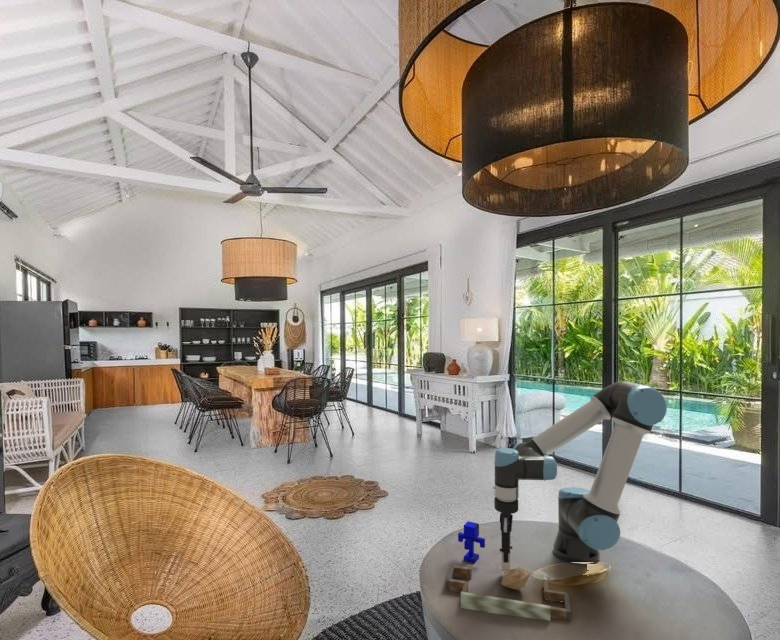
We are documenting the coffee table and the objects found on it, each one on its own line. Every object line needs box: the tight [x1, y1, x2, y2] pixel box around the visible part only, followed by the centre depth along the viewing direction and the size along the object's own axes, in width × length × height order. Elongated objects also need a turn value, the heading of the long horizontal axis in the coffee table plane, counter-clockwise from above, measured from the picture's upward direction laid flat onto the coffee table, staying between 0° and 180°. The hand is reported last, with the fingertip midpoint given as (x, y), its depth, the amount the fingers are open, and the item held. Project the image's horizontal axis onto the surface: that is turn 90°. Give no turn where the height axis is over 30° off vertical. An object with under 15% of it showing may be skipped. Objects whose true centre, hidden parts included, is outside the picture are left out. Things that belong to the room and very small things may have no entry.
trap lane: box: [445, 564, 572, 622], centre depth 138 cm, size 35×18×4 cm, turn 74°
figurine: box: [457, 520, 486, 564], centre depth 160 cm, size 8×8×12 cm
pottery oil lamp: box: [501, 566, 531, 590], centre depth 143 cm, size 9×12×7 cm
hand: (505, 570), depth 149 cm, fingers closed
